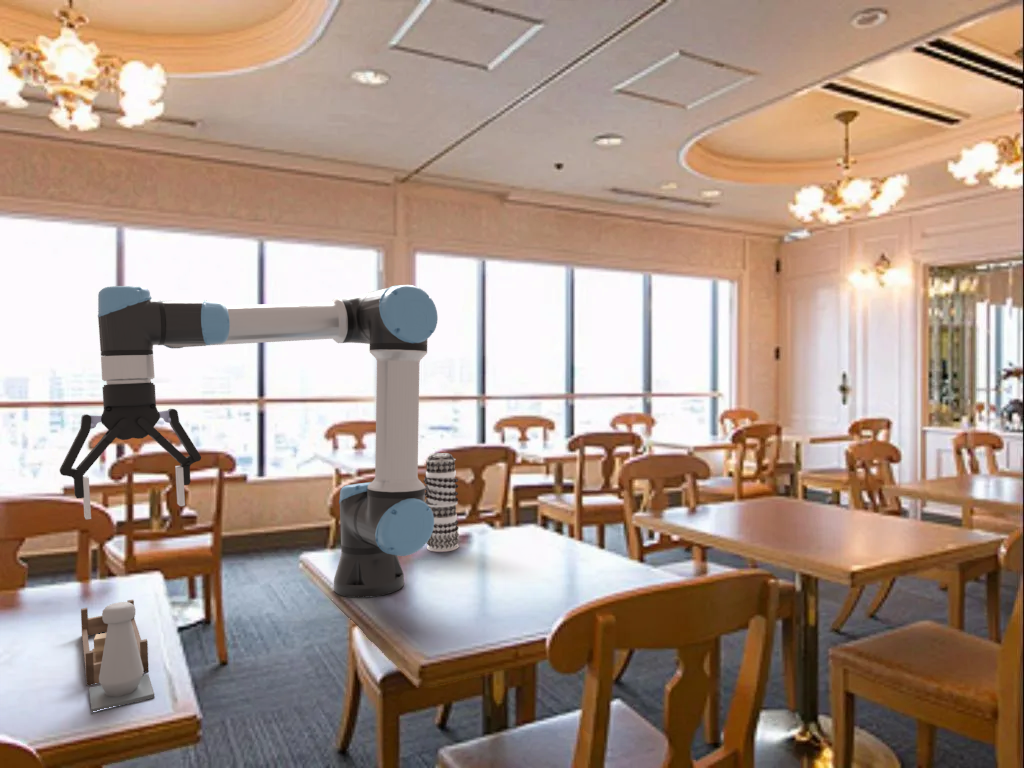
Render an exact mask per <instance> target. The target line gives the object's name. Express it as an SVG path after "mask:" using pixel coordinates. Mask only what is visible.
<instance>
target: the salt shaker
mask: <svg viewBox="0 0 1024 768" xmlns="http://www.w3.org/2000/svg"><path fill="white" fill-rule="evenodd" d="M101 614H102V615H101V616H102V620H103V622H104V623H106V624H108V628H107V632H106V633H107V634H106V639H105V645H104V651H103V657H102V663H101V669H100V674H99V682H100V683H99V684H100V685H101V686H102V688H103V690H104V691H105V693H106V695H107V696H113V697H119V696H122V695H126V694H129V693H132V692H133V691H134V690H135V689H136V688H137V687H138V685H139V683H140V680H141V678H142V676H143V675H144V673H143V671H144V669H143V665H142V661H141V657H140V653H139V649H138V645H137V641H136V637H135V633H134V629H133V625H132V621H131V619H133V618H134V619H135V616H136V606H135V604H134V605H133V604H132V603H130V602H127V601H120V602H115V603H112V604H109V605H106V607H104V609H103V610H102V613H101Z"/></svg>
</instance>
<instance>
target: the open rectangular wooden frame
mask: <svg viewBox="0 0 1024 768" xmlns="http://www.w3.org/2000/svg"><path fill="white" fill-rule="evenodd" d="M126 602H130V603H132V604H133V605H134V606H135V600H134V599H128V600H127V601H126ZM88 614H89V612H88V607H85V608H80V621H81V640H82V641H83V642H82V650H83V661H84V662H85V663H84V673H85V681H86V686H87V685H89V686H92V685H91V684H93V685H96V684H95V683H97V684H100V683H99V674H100V669H101V663H102V662H97V663H93V650H90V644H89V643H90V642H89V636H88V635H90V636H93V634H95V635H96V634H98V633H100V634H102V632H105V633H107V628H108V624H106V623H104V622H103V620H102V615H99V616H94V617H92V616H91V617H89V616H88ZM135 619H136V618H135V617H134V618H133V619H131V621H132V625H133V629H134V633H135V637H136V641H137V645H138V649H139V653H140V657H141V661H142V665H143V669H144V671H143V674H145V673H149V648H148V647H149V646H148V645H149V644H148V639H147V638H145V639H142V637H141V635H140V632H139V628H138V625H137V622H136V620H135Z"/></svg>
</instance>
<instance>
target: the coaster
mask: <svg viewBox="0 0 1024 768" xmlns="http://www.w3.org/2000/svg"><path fill="white" fill-rule="evenodd" d="M150 678H151V677H150V675H149V673H148V674H143V675H142V678H141V680H140V683H139V685H138V687H137V688H136V689H135V690H134V691H133V692H132V693H129V694H126V695H122V696H119V697H113V696H107V695H106V693H105V691H104V690H103V688H102V686H101V684H100V685H97V686H92V687H89V688H88V692H89V701H90V712H93V711H97V710H100V709H104V708H109V707H113V706H119V705H123V706H125V705H124V704H127V705H129V704H128V703H131V704H134V703H133V702H135V703H139V702H142V701H145V700H146V699H147V700H150V699H155V698H154V697H156V696H155V691H154V687H153V685H152V681H151V679H150ZM138 701H139V702H138ZM119 707H120V706H119Z"/></svg>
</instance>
